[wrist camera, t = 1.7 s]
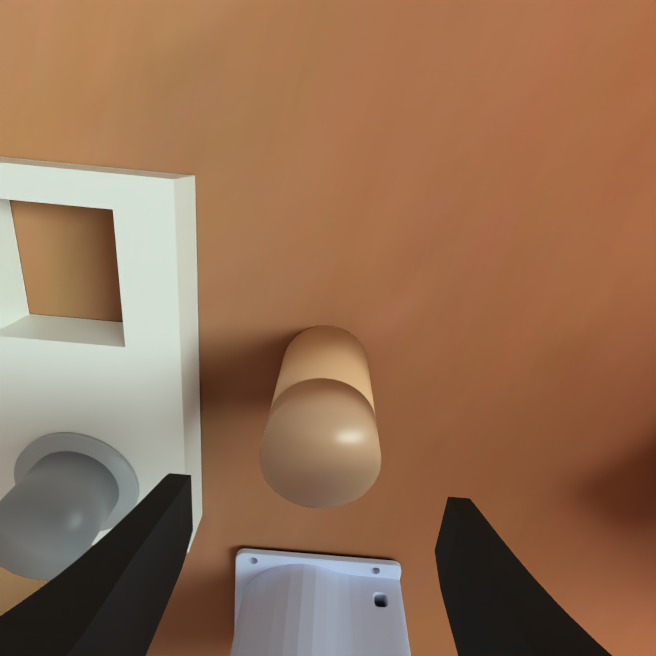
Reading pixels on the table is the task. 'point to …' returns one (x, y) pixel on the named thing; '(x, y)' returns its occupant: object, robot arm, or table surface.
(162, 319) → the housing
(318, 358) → the tan round-topped peg
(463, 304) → the table surface
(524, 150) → the table surface
